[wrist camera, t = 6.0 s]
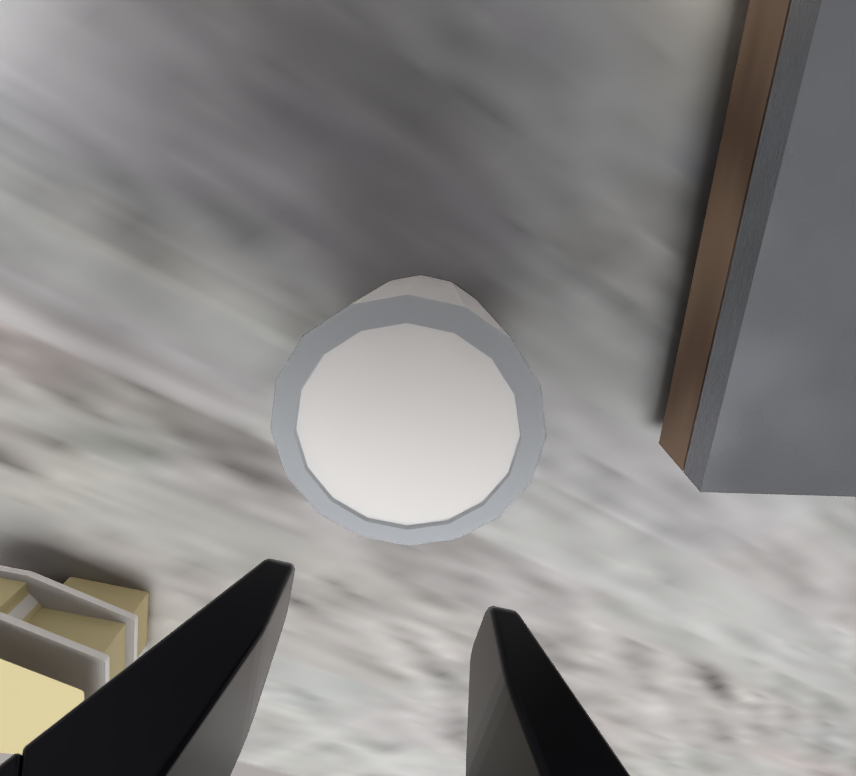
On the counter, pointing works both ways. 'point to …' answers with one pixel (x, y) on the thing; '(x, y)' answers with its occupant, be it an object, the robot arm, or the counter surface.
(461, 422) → the white cup
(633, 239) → the counter surface
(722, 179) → the brown wooden board
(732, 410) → the levelling plate
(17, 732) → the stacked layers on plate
